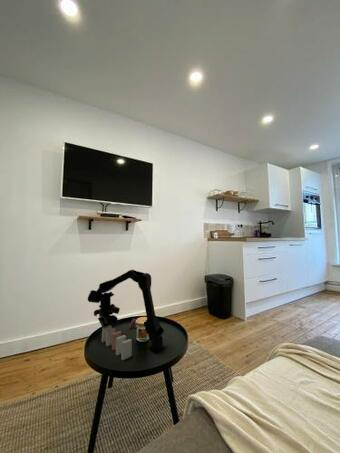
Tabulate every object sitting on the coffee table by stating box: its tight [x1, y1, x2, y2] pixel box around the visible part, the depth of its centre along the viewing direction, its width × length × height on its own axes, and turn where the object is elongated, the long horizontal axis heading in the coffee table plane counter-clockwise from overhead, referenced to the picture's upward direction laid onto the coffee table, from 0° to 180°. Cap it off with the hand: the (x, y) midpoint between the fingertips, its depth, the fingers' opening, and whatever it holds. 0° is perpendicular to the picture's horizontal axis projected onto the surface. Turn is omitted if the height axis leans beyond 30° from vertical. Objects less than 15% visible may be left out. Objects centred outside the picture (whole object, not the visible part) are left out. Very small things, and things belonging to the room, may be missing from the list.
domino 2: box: [105, 327, 117, 347], centre depth 113 cm, size 2×5×8 cm, turn 133°
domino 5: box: [120, 338, 133, 361], centre depth 101 cm, size 2×5×8 cm, turn 133°
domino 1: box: [100, 324, 113, 343], centre depth 117 cm, size 2×5×8 cm, turn 133°
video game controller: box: [128, 318, 138, 330], centre depth 133 cm, size 10×5×7 cm, turn 75°
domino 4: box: [115, 334, 127, 356], centre depth 105 cm, size 2×5×8 cm, turn 133°
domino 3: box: [111, 330, 123, 351], centre depth 110 cm, size 2×5×8 cm, turn 133°
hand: (105, 330), depth 119 cm, fingers closed
